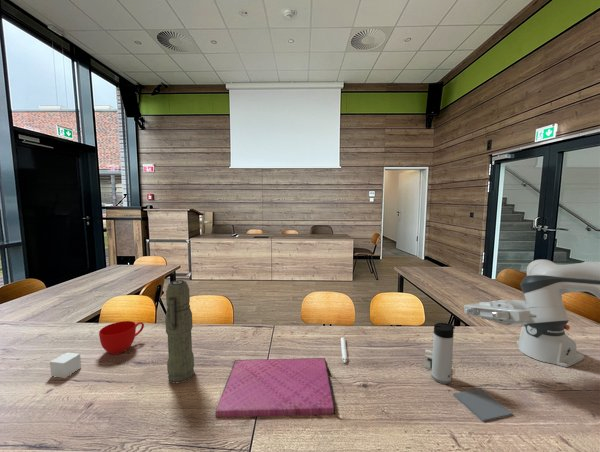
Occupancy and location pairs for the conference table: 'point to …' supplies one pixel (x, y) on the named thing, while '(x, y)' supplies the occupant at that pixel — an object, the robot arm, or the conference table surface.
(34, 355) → the conference table surface
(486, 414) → the slate pad
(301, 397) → the laptop bag
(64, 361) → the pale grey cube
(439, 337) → the travel mug
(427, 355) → the lettered cube
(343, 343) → the marker
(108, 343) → the ceramic cup
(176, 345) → the thermos
